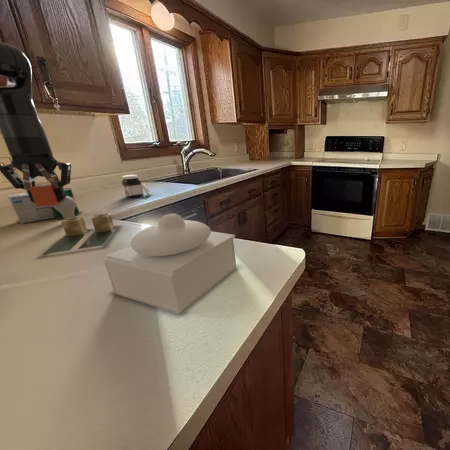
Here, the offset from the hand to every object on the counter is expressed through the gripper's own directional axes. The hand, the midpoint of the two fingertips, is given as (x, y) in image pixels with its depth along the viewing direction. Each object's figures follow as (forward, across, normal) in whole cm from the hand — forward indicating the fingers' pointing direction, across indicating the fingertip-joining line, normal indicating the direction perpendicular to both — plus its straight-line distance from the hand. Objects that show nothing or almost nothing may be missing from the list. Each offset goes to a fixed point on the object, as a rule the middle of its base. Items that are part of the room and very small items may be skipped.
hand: (50, 202), depth 67 cm
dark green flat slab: (+14, -3, -5) cm, 15 cm away
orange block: (0, 0, 0) cm, 0 cm away
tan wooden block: (+13, -7, -11) cm, 19 cm away
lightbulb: (+14, +8, -28) cm, 33 cm away
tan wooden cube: (+13, +1, -11) cm, 17 cm away
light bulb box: (+14, +23, -42) cm, 50 cm away
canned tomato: (+14, +14, -43) cm, 48 cm away
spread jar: (+14, -8, -71) cm, 73 cm away
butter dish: (+14, -31, +33) cm, 47 cm away
